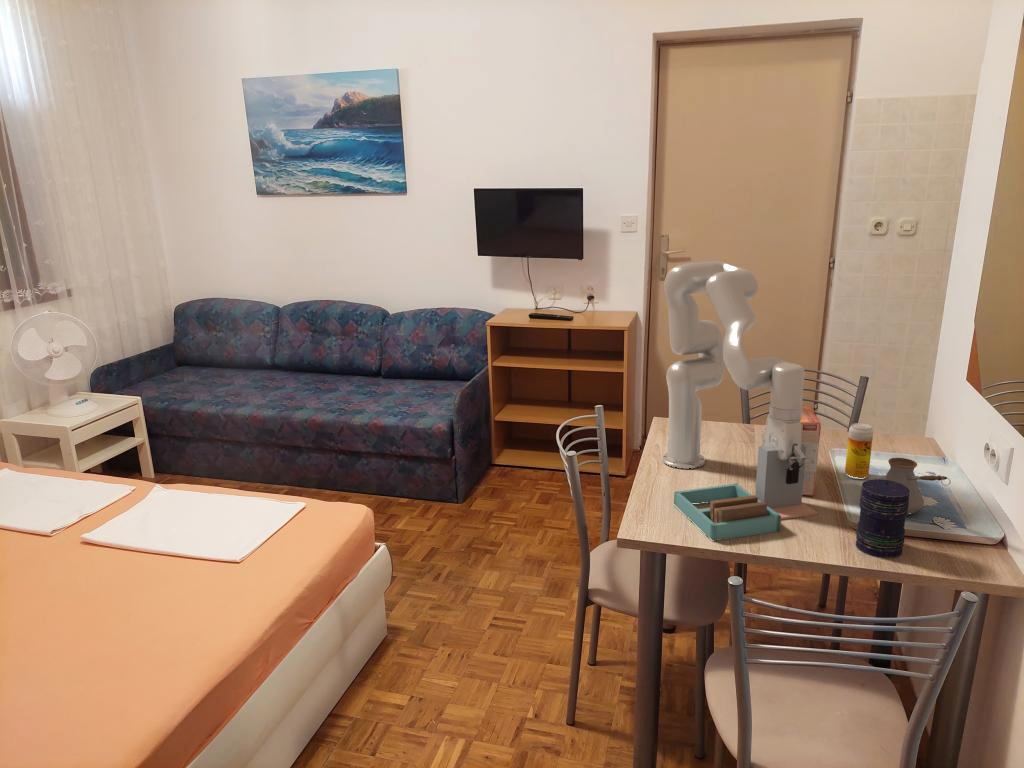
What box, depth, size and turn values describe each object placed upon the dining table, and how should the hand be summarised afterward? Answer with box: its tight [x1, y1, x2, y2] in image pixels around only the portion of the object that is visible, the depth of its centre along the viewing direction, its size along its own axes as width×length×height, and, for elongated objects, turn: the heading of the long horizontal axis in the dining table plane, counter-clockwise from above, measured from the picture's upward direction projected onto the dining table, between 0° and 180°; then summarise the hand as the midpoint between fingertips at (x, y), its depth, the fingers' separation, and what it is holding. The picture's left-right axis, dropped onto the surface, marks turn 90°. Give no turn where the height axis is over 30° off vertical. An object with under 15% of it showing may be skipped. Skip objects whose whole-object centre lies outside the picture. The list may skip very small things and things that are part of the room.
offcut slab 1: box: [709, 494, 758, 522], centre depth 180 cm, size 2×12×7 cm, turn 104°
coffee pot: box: [882, 457, 951, 514], centre depth 180 cm, size 21×12×15 cm, turn 8°
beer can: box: [844, 422, 874, 478], centre depth 205 cm, size 6×6×15 cm
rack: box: [673, 483, 782, 541], centre depth 184 cm, size 20×18×4 cm
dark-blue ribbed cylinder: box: [855, 479, 910, 559], centre depth 166 cm, size 10×10×15 cm
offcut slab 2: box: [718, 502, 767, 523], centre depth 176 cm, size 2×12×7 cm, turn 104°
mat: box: [772, 501, 818, 521], centre depth 190 cm, size 14×13×1 cm
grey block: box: [754, 444, 806, 509], centre depth 188 cm, size 4×11×16 cm, turn 104°
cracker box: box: [800, 406, 822, 497], centre depth 199 cm, size 14×6×21 cm, turn 168°
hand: (780, 476), depth 188 cm, fingers open, 9 cm apart
